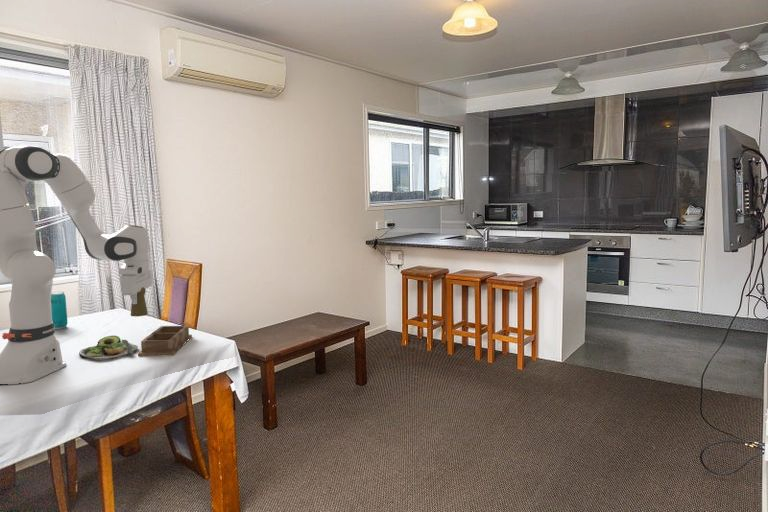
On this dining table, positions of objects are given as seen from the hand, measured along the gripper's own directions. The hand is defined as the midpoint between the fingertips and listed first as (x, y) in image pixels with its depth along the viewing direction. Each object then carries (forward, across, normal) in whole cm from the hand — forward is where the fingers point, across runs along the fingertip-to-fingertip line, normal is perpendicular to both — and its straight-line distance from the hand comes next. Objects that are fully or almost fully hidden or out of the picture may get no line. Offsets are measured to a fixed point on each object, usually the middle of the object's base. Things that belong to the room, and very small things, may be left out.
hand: (138, 302), depth 192 cm
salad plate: (+16, +15, -4) cm, 22 cm away
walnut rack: (+15, +9, +14) cm, 22 cm away
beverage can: (+15, -18, -40) cm, 46 cm away
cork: (+5, 0, 0) cm, 5 cm away
